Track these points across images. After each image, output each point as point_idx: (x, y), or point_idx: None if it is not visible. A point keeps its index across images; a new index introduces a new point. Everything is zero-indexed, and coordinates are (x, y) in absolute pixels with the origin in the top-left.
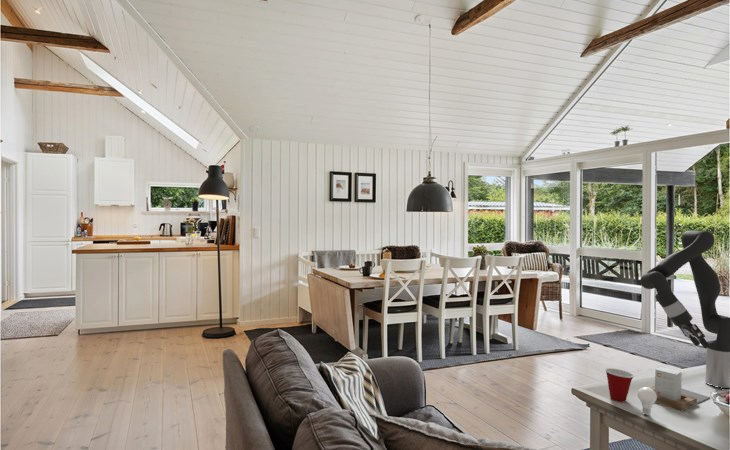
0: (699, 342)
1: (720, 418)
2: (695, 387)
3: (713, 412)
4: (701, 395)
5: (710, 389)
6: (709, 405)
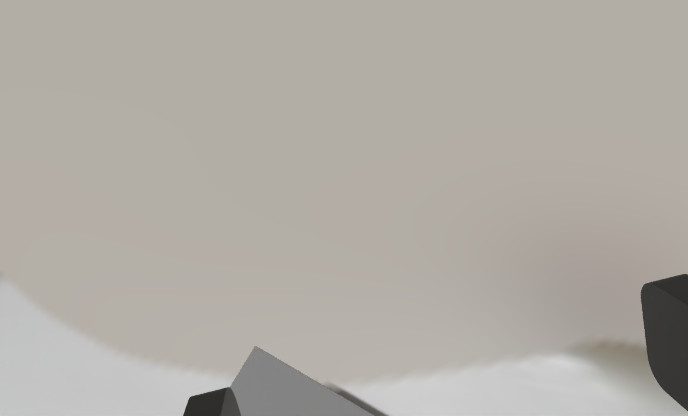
0: (221, 400)
1: (633, 357)
2: (19, 408)
3: (550, 378)
4: (249, 400)
5: (23, 303)
6: (421, 378)
